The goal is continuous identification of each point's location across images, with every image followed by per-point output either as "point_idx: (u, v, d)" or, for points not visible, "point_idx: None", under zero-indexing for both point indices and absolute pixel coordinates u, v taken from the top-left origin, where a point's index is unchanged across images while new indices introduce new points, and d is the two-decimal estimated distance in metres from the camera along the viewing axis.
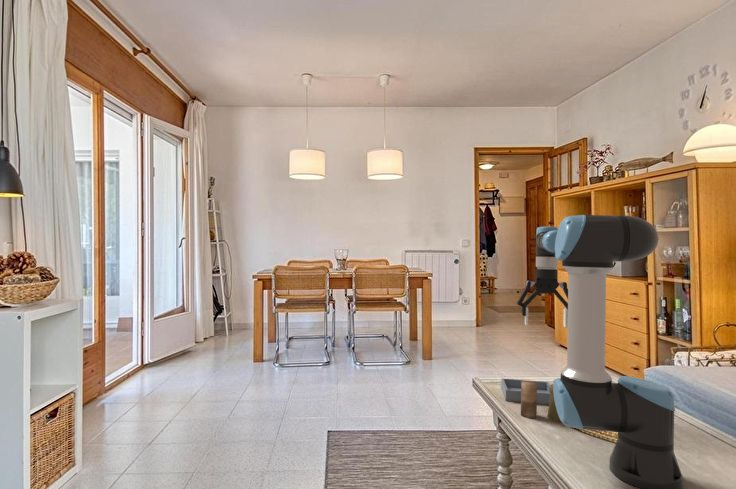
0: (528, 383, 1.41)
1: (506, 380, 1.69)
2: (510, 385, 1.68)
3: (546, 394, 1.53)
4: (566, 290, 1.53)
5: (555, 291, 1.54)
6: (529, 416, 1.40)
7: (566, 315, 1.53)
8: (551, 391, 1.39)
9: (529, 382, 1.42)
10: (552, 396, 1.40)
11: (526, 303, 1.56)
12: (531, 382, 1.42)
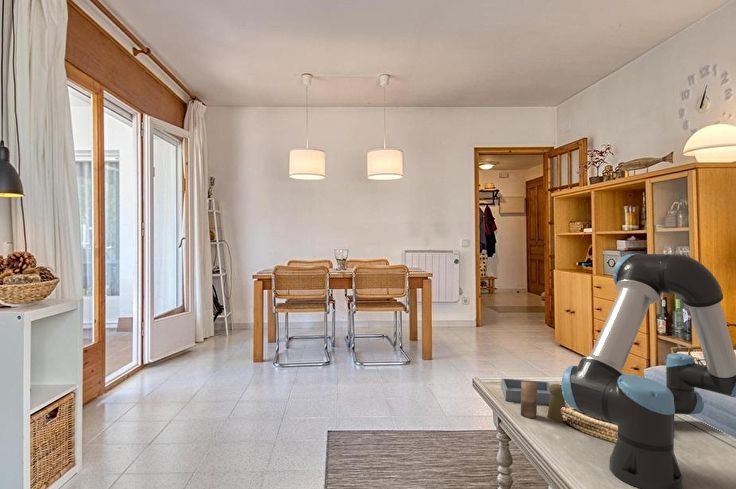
0: (528, 383, 1.41)
1: (506, 380, 1.69)
2: (510, 385, 1.68)
3: (546, 394, 1.53)
4: None
5: None
6: (529, 416, 1.40)
7: None
8: (551, 391, 1.39)
9: (529, 382, 1.42)
10: (552, 396, 1.40)
11: None
12: (531, 382, 1.42)
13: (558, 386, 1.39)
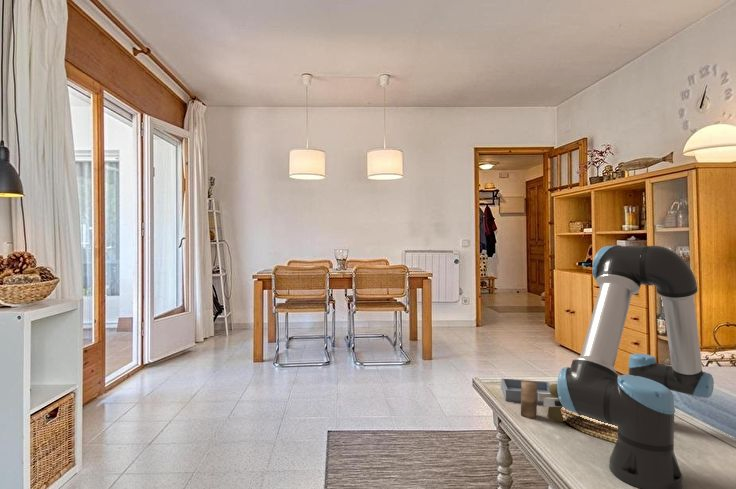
0: (528, 383, 1.41)
1: (506, 380, 1.69)
2: (510, 385, 1.68)
3: None
4: None
5: None
6: (529, 416, 1.40)
7: (557, 398, 1.38)
8: (551, 391, 1.39)
9: (529, 382, 1.42)
10: (552, 396, 1.40)
11: None
12: (531, 382, 1.42)
13: None
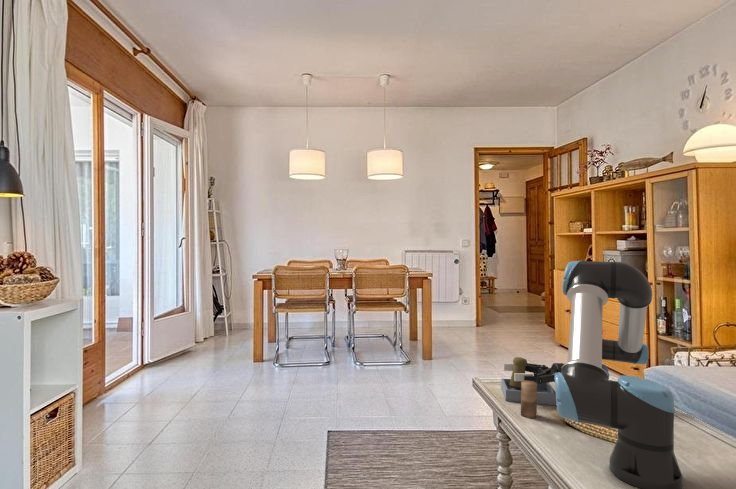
0: (528, 383, 1.41)
1: (506, 380, 1.69)
2: (510, 385, 1.68)
3: (546, 394, 1.53)
4: (551, 374, 1.55)
5: (545, 370, 1.59)
6: (529, 416, 1.39)
7: (526, 373, 1.55)
8: (514, 362, 1.65)
9: (529, 382, 1.42)
10: (515, 366, 1.65)
11: None
12: (531, 382, 1.42)
13: (521, 358, 1.65)
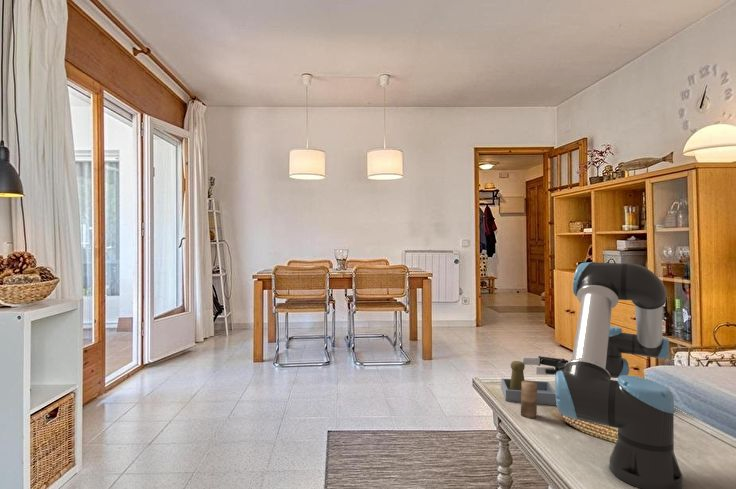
0: (528, 383, 1.41)
1: (506, 380, 1.69)
2: None
3: (546, 394, 1.53)
4: None
5: (566, 363, 1.59)
6: (529, 416, 1.39)
7: (547, 367, 1.55)
8: (512, 367, 1.64)
9: (529, 382, 1.42)
10: (513, 371, 1.64)
11: (542, 358, 1.69)
12: (531, 382, 1.42)
13: (518, 362, 1.64)
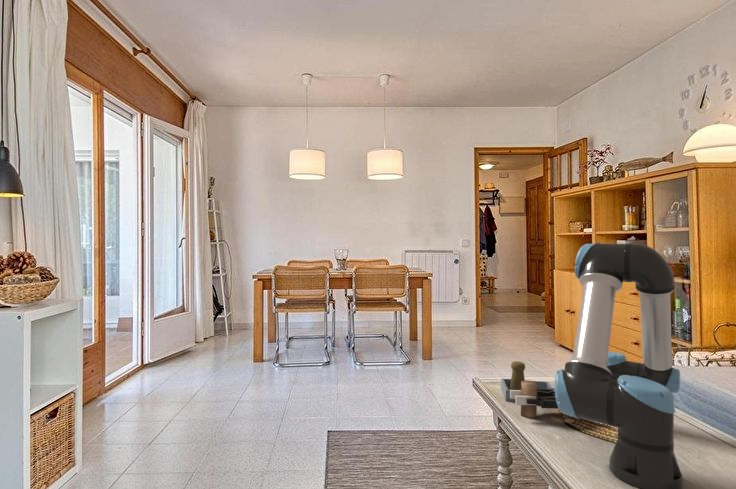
0: (528, 383, 1.41)
1: (506, 380, 1.69)
2: None
3: None
4: None
5: None
6: (529, 416, 1.39)
7: (529, 396, 1.39)
8: (513, 367, 1.64)
9: (529, 382, 1.42)
10: (514, 371, 1.64)
11: None
12: (531, 382, 1.42)
13: (519, 363, 1.64)
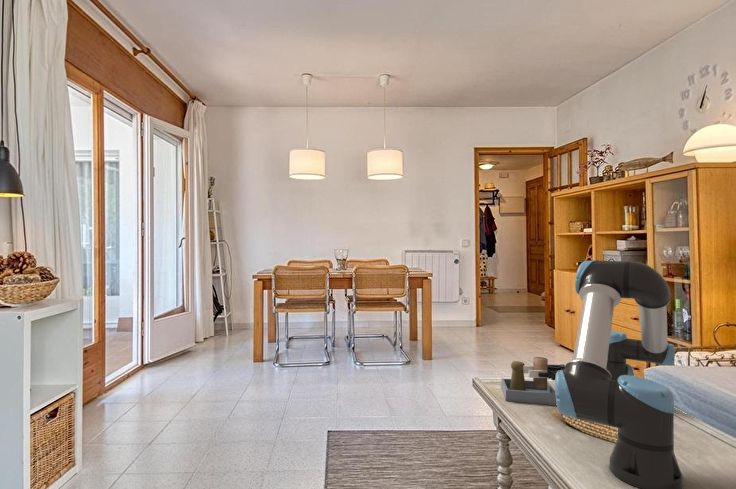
0: (540, 359, 1.58)
1: (506, 380, 1.69)
2: None
3: (546, 394, 1.53)
4: None
5: None
6: (541, 388, 1.57)
7: (540, 370, 1.57)
8: (513, 367, 1.64)
9: (541, 358, 1.60)
10: (514, 371, 1.64)
11: None
12: (542, 358, 1.60)
13: (518, 362, 1.64)
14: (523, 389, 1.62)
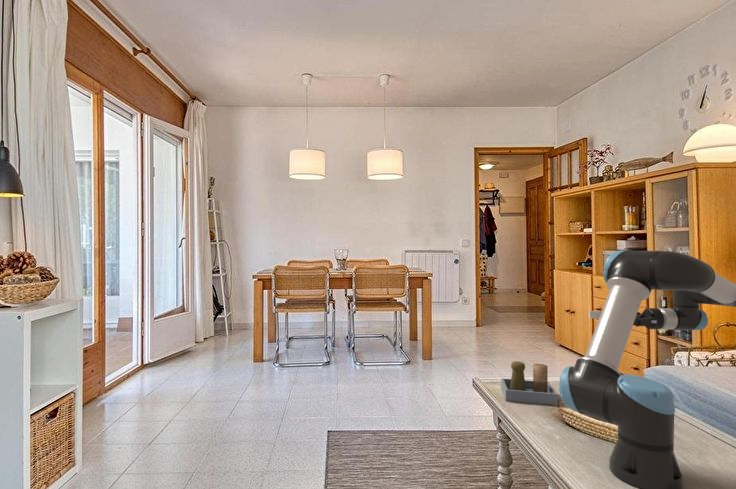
0: (540, 366, 1.59)
1: (506, 380, 1.69)
2: None
3: (546, 394, 1.53)
4: (648, 318, 1.45)
5: (640, 314, 1.49)
6: None
7: None
8: (513, 367, 1.64)
9: (540, 365, 1.60)
10: (514, 371, 1.64)
11: None
12: (542, 365, 1.61)
13: (519, 363, 1.64)
14: (523, 389, 1.62)
